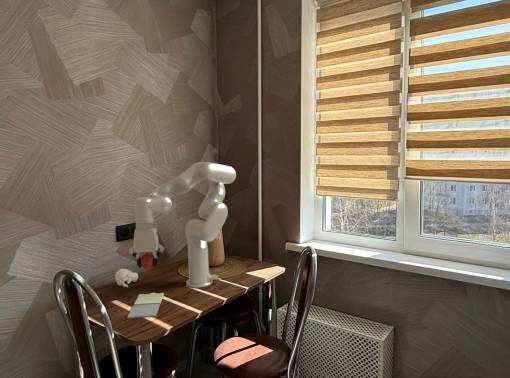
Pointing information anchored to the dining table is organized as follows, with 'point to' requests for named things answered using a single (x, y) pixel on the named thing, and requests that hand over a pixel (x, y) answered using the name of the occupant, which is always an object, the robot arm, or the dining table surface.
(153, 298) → the mat
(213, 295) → the dining table surface
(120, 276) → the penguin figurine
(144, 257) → the onion
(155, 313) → the toy mat
